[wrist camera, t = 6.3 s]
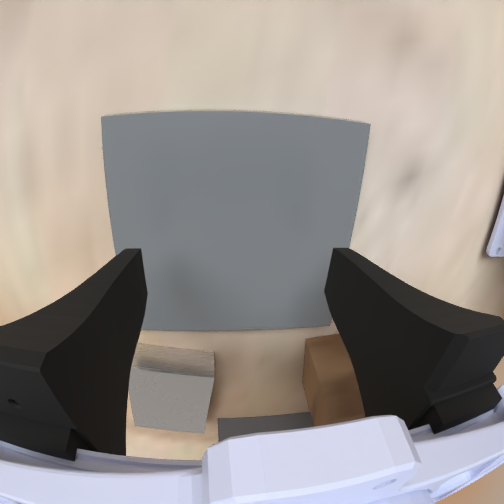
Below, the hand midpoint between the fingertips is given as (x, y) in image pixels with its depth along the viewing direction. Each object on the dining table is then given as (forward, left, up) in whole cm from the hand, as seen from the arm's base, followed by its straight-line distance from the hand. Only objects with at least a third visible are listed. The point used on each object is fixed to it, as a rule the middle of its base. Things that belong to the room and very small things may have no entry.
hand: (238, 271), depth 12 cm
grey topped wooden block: (+4, +11, -4) cm, 12 cm away
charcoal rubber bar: (-3, +18, -3) cm, 18 cm away
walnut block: (-7, +9, -3) cm, 12 cm away
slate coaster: (0, 0, -3) cm, 3 cm away
